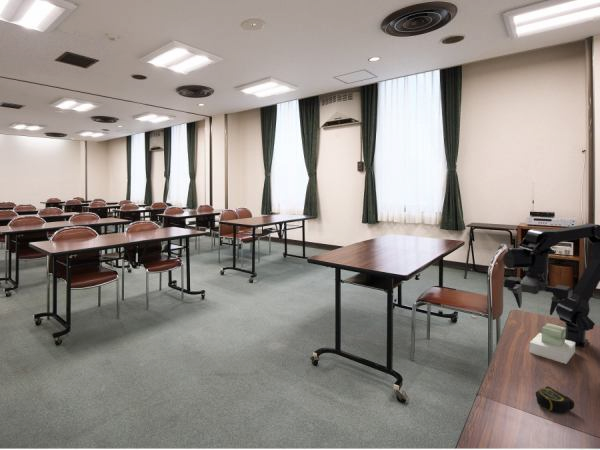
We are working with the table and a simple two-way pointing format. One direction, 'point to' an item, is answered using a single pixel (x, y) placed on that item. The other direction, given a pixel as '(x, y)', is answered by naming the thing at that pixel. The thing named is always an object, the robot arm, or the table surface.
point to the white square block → (552, 349)
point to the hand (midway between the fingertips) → (534, 311)
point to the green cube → (553, 335)
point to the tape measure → (554, 400)
